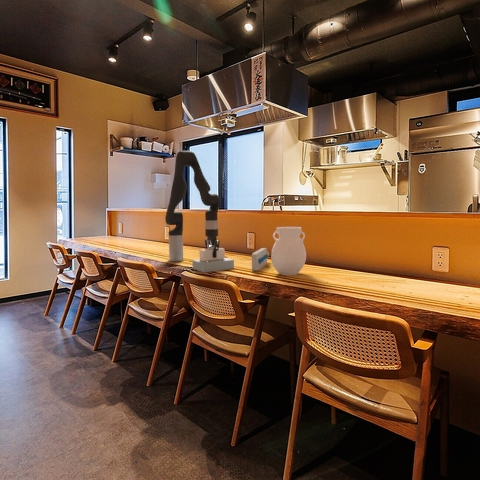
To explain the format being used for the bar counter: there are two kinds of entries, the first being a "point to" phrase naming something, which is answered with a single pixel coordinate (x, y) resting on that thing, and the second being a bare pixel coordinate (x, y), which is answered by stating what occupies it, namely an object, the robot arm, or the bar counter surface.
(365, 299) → the bar counter surface
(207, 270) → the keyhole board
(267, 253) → the decorative sign
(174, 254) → the robot arm
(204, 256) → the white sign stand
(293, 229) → the white vase
